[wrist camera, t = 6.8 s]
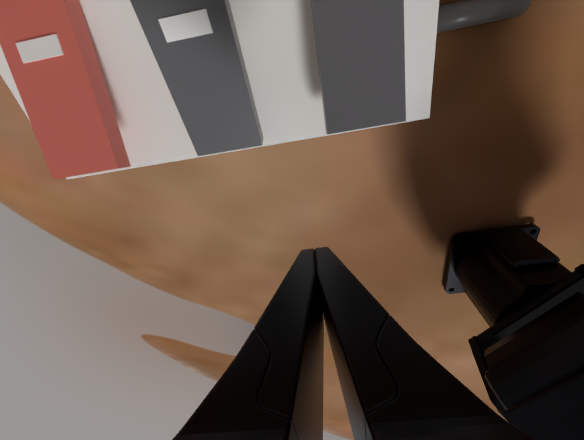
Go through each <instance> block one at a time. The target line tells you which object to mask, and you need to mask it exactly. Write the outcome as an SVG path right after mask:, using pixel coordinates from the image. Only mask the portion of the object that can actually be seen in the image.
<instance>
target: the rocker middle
mask: <svg viewBox="0 0 584 440" xmlns="http://www.w3.org/2000/svg"><path fill="white" fill-rule="evenodd" d="M130 2H131V4H132V6H133V8H134V11H135V13H136V15H137V18H138V20H139V22H140V25H141V27H142V29H143V31H144V34H145V36H146V38H147V41H148V43H149V45H150V47H151V50H152V52H153V54H154V57H155V59H156V61H157V63H158V66H159V68H160V70H161V73H162V75H163V77H164V80H165V82H166V84H167V86H168V89H169V91H170V93H171V96H172V98H173V100H174V102H175V105H176V107H177V109H178V112H179V114H180V116H181V118H182V121H183V123H184V125H185V128H186V130H187V132H188V134H189V137H190V139H191V141H192V144H193V146H194V148H195V151H196V153H197V155H198V156H203V155H208V154H214V153H220V152H226V151H232V150H238V149H244V148H250V147H256V146H262V143H263V134H262V130H261V126H260V122H259V118H258V114H257V110H256V106H255V102H254V98H253V94H252V90H251V86H250V82H249V78H248V74H247V71H246V67H245V63H244V59H243V55H242V51H241V47H240V43H239V39H238V35H237V31H236V27H235V23H234V19H233V15H232V11H231V7H230V3H229V0H130Z"/></svg>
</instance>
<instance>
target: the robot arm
mask: <svg viewBox="0 0 584 440" xmlns="http://www.w3.org/2000/svg"><path fill="white" fill-rule="evenodd" d="M539 232H540V228H539V227H538V226H536V225H535V224H526V225H518V226H510V227H502V228H494V229H486V230H479V231H471V232H464V233H457V234H455V235H453V236H452V238H451V244H450V250H449V257H448V263H447V270H446V276H445V283H444V290H445V291H446V292H447V293H448V294H453V293H463V292H465V293H466V294H467V296H468V297H469V298H470V300H471V301H472V302H473V304H474V305H475V307H476V308H477V309H478V311H479V312H480V314H481V315H482V316H483V318H484V319H485V321H486V322H487V323H488V325H489V326H490V328H488V329H487V330H485V331H484V332H482V333H481V334H479V335H478V336H473V337H472V338H470V339H469V340H468V341H469V344H470V347H471V349H472V353H473V355H474V358H475V361H476V363H477V366H478V369H479V371H480V374H481V377H482V379H483V382H484V385H485V387H486V390H487V393H488V395H489V398H490V400H491V402H492V403H493V404H494V406H495V407H496V408H497V410H498V412H499V413H500V414H501V415H502V416H503V417H505V419H506V420H507V421H508V422H509V423H508V422H507V421H506V420H504V419H503V418H502V417H500V416H499V415H498V414H497V413H495V412H494V411H493V410H492V409H491V408H490V407H488V406H487V405H486V404H485V403H484V402H483V401H482V400H480V399H479V398H478V397H477V396H476V395H475V394H474V393H472V392H471V391H470V390H469V389H468V388H467V387H466V386H464V385H463V384H462V383H461V382H460V381H459V380H458V379H456V378H455V377H454V376H453V375H452V374H451V373H450V372H448V371H447V370H446V369H445V368H444V367H443V366H442V365H441V364H439V363H438V362H437V361H436V360H435V359H434V358H433V357H432V356H430V355H429V354H428V353H427V352H426V351H425V350H424V349H423V348H422V347H421V346H420V345H418V344H417V343H416V342H415V341H414V340H413V339H412V338H411V337H410V336H409V335H408V334H407V332H406V331H405V330H404V329H403V328H402V327H401V326H400V325H399V324H398V323H397V322H396V321H395V320H394V319H393V317H392V316H389V313H388V312H387V311H386V310H385V309H384V308H383V307H382V306H381V305H380V303H379V302H378V301H377V300H376V299H375V298H374V297H373V296H372V295H371V294H370V293H369V291H368V290H367V289H366V288H365V287H364V286H363V285H362V284H361V283H360V282H359V280H358V279H357V278H356V277H355V276H354V275H353V274H352V273H351V272H350V271H349V270H348V268H347V267H346V266H345V265H344V264H343V263H342V262H341V261H340V260H339V259H338V257H337V256H336V255H335V254H334V253H333V252H332V251H331V250H330V249H329V248H328V247H321V248H316V249H315V250H314V249H306V250H302V251H301V252H300V253H299V255H298V257H297V258H296V260H295V262H294V263H293V265H292V267H291V268H290V270H289V271H288V273H287V275H286V276H285V278H284V280H283V281H282V283H281V285H280V286H279V288H278V290H277V291H276V293H275V294H274V296H273V298H272V299H271V301H270V303H269V304H268V306H267V308H266V309H265V311H264V313H263V314H262V316H261V318H260V319H259V321H258V322H257V324H256V326H255V328H254V329H255V330H253V331H252V332H251V334H250V335H249V337H248V339H247V340H246V342H245V343H244V345H243V346H242V348H241V350H240V351H239V353H238V354H237V356H236V357H235V359H234V360H233V361H232V363H231V364H230V366H229V367H228V368H227V370H226V371H225V372H224V374H223V375H222V377H221V378H220V379H219V381H218V382H217V383H216V384H215V386H214V387H213V389H212V390H211V391H210V392H209V394H208V395H207V396H206V398H205V399H204V400H203V402H202V403H201V404H200V406H199V407H198V408H197V409H196V411H195V412H194V413H193V415H192V416H191V417H190V419H189V420H188V421H187V423H186V424H185V425H184V426H183V428H182V429H181V430H180V431H179V433H178V434H177V435H176V436H175V437H174V438H173V439H172V440H323V348H324V320H325V324H326V329H327V333H328V337H329V341H330V345H331V349H332V353H333V357H334V360H335V364H336V368H337V372H338V376H339V380H340V384H341V388H342V392H343V396H344V400H345V404H346V408H347V412H348V416H349V420H350V424H351V428H352V432H353V436H354V440H584V264H581V265H579V266H578V267H576V268H575V269H574V270H575V271H574V272H570V271H569V270H568V269H567V268H565V267H564V266H563V265H561V264H560V263H559V261H560V259H559V257H557V256H556V255H555V254H554V253H552V252H551V251H550V250H548V249H547V248H546V247H544V246H543V245H542V244H540V243H539V242H538V241H537V238H538V235H539ZM460 238H461V239H460ZM458 239H460V240H458ZM457 240H458V241H457ZM323 314H324V318H323Z"/></svg>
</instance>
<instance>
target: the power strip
mask: <svg viewBox="0 0 584 440" xmlns="http://www.w3.org/2000/svg"><path fill="white" fill-rule="evenodd" d="M79 2H80V5H81V8H82V11H83V14H84V18H85V21H86V24H87V27H88V30H89V34H90V37H91V40H92V43H93V47H94V50H95V53H96V56H97V59H98V63H99V66H100V69H101V72H102V75H103V79H104V82H105V85H106V88H107V91H108V95H109V98H110V101H111V104H112V107H113V111H114V114H115V117H116V120H117V124H118V127H119V130H120V133H121V136H122V140H123V143H124V146H125V149H126V152H127V156H128V159H129V162H130V165H131V167H125V168H119V169H113V170H107V171H101V172H95V173H89V174H84V175H78V176H72V177H66V179H72V178H78V177H84V176H90V175H96V174H102V173H108V172H114V171H120V170H126V169H132V168H138V167H143V166H149V165H155V164H161V163H167V162H173V161H179V160H185V159H191V158H197V157H203V156H209V155H215V154H220V153H226V152H232V151H238V150H244V149H250V148H256V147H262V146H268V145H274V144H280V143H286V142H291V141H297V140H303V139H309V138H315V137H321V136H327V135H333V134H339V133H345V132H351V131H357V130H362V129H357V130H351V131H345V132H339V133H333V134H326V129H325V120H324V112H323V103H322V94H321V86H320V77H319V69H318V60H317V52H316V43H315V34H314V26H313V17H312V9H311V0H229V3H230V7H231V11H232V15H233V19H234V23H235V27H236V31H237V35H238V39H239V43H240V47H241V51H242V55H243V59H244V63H245V67H246V71H247V74H248V78H249V82H250V86H251V90H252V94H253V98H254V102H255V106H256V110H257V114H258V118H259V122H260V126H261V130H262V134H263V143H262V146H256V147H250V148H244V149H238V150H232V151H226V152H220V153H214V154H208V155H203V156H198V155H197V153H196V151H195V148H194V146H193V144H192V141H191V139H190V137H189V134H188V132H187V130H186V128H185V125H184V123H183V121H182V118H181V116H180V114H179V112H178V109H177V107H176V105H175V102H174V100H173V98H172V96H171V93H170V91H169V89H168V86H167V84H166V82H165V80H164V77H163V75H162V73H161V70H160V68H159V66H158V63H157V61H156V59H155V57H154V54H153V52H152V50H151V47H150V45H149V43H148V41H147V38H146V36H145V34H144V31H143V29H142V27H141V25H140V22H139V20H138V18H137V15H136V13H135V11H134V8H133V6H132V4H131V2H130V0H79ZM530 3H531V0H464V1H459V2H454V3H450V4H445V5H440V6H439V0H404V42H405V98H406V121H404V122H410V121H416V120H422V119H428V118H430V107H431V95H432V83H433V71H434V59H435V47H436V35H437V33H439V32H444V31H449V30H454V29H459V28H464V27H469V26H474V25H479V24H484V23H489V22H494V21H499V20H504V19H509V18H514V17H517V16H519V15H521V14H522V13H524V12H525V11H526V10H527V9H528V7H529V5H530ZM0 75H1V76H2V78H3V79H4V81H5V82H6V84H7V86H8V87H9V89H10V90H11V92H12V93H13V95H14V97H15V98H16V100H17V101H18V103H19V105H20V106H21V108H22V109H23V111H24V112H25V114H26V116H27V117H28V114H27V112H26V109H25V107H24V104H23V102H22V99H21V96H20V94H19V91H18V89H17V86H16V84H15V81H14V79H13V76H12V73H11V71H10V68H9V66H8V63H7V61H6V58H5V55H4V53H3V50H2V48H1V45H0ZM28 119H29V117H28ZM29 120H30V119H29ZM404 122H398V123H404ZM398 123H392V124H398ZM392 124H386V125H392ZM386 125H380V126H386ZM380 126H374V127H380ZM374 127H369V128H374ZM363 129H368V128H363Z"/></svg>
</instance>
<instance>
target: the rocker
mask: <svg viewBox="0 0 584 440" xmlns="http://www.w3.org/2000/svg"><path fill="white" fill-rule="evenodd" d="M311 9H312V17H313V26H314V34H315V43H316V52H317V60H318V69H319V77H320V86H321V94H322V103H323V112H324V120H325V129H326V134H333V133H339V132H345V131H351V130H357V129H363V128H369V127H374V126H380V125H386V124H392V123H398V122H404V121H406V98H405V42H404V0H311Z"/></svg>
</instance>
